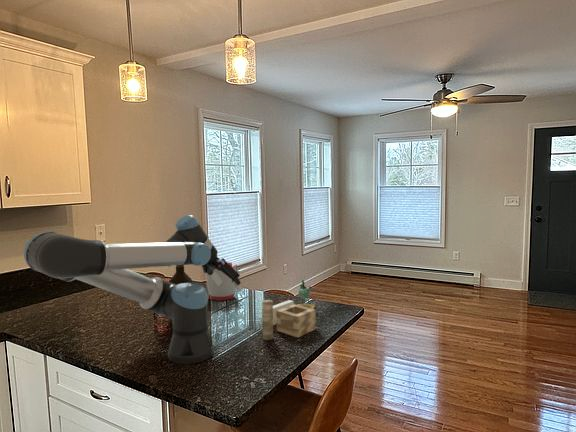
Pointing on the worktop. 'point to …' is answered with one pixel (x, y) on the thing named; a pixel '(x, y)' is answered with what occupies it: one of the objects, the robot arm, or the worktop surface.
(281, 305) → the backstop
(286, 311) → the block
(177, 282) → the olive oil
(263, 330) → the dowel
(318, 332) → the worktop surface
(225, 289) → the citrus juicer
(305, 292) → the green yellow irregular piece
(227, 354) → the worktop surface
